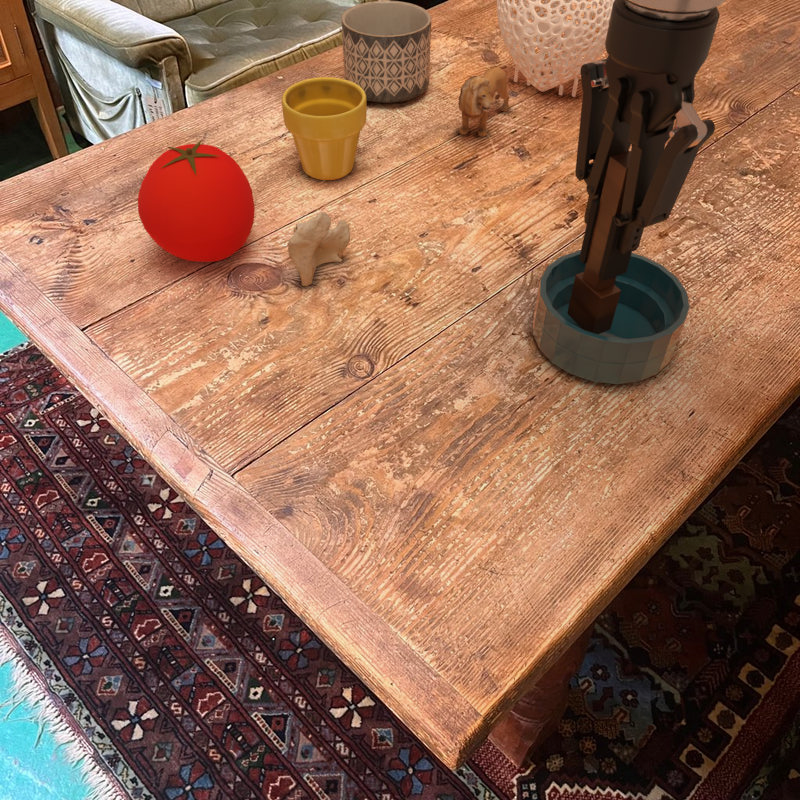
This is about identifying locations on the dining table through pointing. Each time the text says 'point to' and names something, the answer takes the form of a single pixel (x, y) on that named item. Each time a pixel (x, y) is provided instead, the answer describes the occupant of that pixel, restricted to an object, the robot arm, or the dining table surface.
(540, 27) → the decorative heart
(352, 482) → the dining table surface
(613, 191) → the stirring stick
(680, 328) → the bowl
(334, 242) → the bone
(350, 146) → the flower pot
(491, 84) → the lion figurine
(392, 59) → the planter
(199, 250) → the tomato
